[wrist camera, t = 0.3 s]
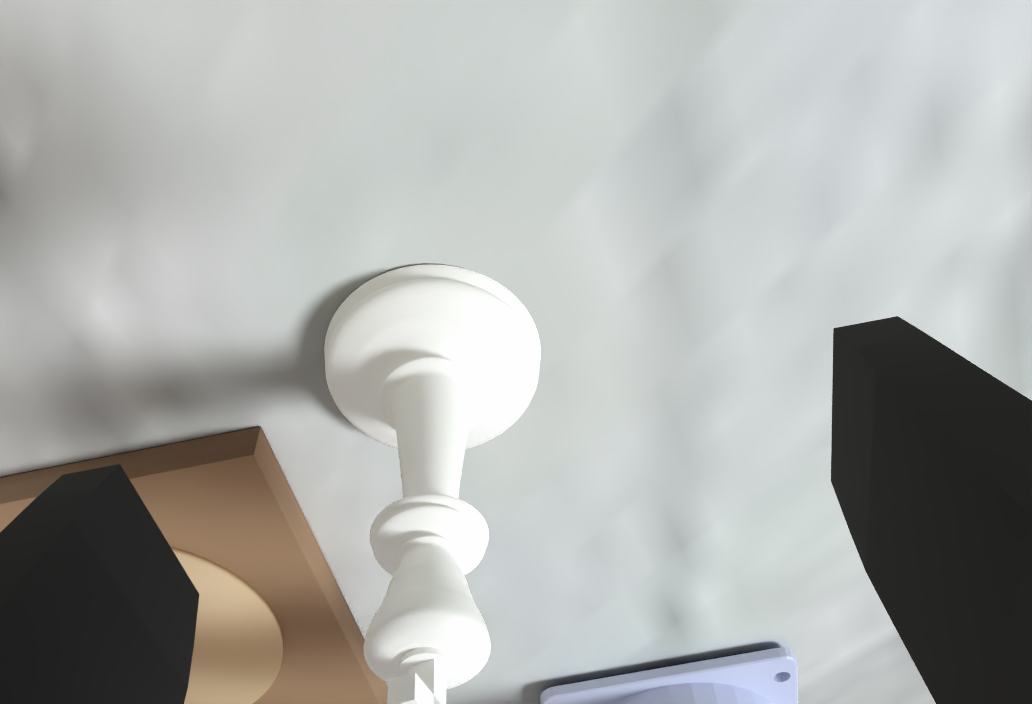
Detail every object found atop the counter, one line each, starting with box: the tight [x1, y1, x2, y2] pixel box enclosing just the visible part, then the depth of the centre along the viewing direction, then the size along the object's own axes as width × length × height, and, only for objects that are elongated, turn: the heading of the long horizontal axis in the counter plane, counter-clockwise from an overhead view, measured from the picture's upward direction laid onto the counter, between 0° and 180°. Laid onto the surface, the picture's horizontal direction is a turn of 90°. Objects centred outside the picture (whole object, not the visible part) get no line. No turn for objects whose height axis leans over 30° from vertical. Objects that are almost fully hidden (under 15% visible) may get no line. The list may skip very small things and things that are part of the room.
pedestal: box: [0, 427, 388, 704], centre depth 25 cm, size 11×11×1 cm
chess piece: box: [324, 264, 541, 704], centre depth 17 cm, size 5×5×10 cm
